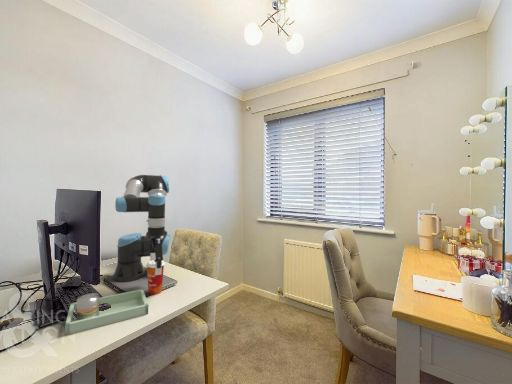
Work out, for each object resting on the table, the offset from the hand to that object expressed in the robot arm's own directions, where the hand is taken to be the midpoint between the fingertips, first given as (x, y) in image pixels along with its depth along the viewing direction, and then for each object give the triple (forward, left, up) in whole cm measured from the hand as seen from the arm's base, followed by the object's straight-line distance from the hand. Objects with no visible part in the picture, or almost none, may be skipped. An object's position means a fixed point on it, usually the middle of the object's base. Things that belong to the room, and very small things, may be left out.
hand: (155, 269), depth 112 cm
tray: (+12, -19, -11) cm, 25 cm away
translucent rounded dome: (+12, -26, -10) cm, 30 cm away
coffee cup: (0, 0, -11) cm, 11 cm away
